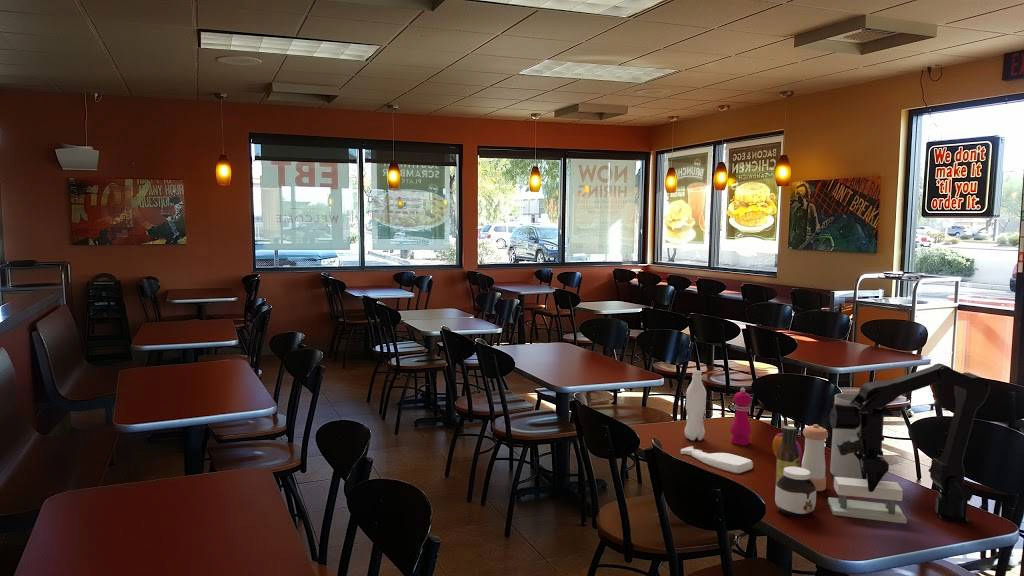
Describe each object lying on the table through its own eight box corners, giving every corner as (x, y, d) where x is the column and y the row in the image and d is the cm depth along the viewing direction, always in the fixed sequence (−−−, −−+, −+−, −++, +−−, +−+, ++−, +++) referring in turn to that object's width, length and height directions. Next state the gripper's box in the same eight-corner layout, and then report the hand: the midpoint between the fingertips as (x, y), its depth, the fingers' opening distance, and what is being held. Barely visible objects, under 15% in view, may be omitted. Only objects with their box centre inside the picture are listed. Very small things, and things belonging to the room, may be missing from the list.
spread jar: (787, 519, 196) (790, 477, 194) (762, 503, 206) (764, 463, 205) (825, 514, 199) (828, 473, 198) (798, 499, 210) (800, 459, 209)
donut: (794, 459, 245) (795, 430, 244) (802, 468, 236) (804, 438, 235) (770, 458, 246) (771, 429, 245) (777, 467, 236) (778, 437, 235)
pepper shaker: (801, 480, 225) (805, 419, 223) (827, 485, 221) (830, 423, 219) (797, 488, 219) (800, 425, 217) (823, 493, 215) (827, 429, 213)
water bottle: (707, 438, 267) (710, 370, 265) (700, 442, 261) (703, 374, 259) (688, 434, 271) (690, 368, 269) (681, 439, 265) (684, 371, 263)
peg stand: (897, 509, 203) (899, 491, 203) (906, 523, 194) (907, 504, 193) (827, 501, 208) (829, 483, 208) (832, 514, 199) (834, 496, 198)
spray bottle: (736, 475, 229) (673, 456, 248) (756, 468, 236) (693, 450, 255) (736, 466, 229) (673, 447, 248) (756, 459, 236) (693, 442, 255)
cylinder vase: (851, 467, 238) (856, 392, 235) (883, 480, 226) (888, 401, 223) (821, 471, 233) (825, 394, 231) (851, 485, 222) (856, 404, 219)
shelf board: (895, 492, 202) (896, 482, 201) (902, 500, 196) (902, 490, 196) (833, 486, 205) (834, 476, 205) (837, 494, 200) (838, 484, 199)
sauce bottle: (799, 499, 210) (803, 431, 208) (776, 497, 211) (780, 430, 209) (795, 491, 216) (799, 425, 214) (773, 489, 217) (776, 423, 215)
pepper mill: (725, 440, 265) (728, 386, 263) (742, 438, 267) (745, 384, 265) (737, 446, 258) (740, 390, 256) (755, 444, 260) (757, 389, 258)
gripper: (834, 418, 210) (831, 471, 212) (844, 436, 192) (840, 494, 194) (876, 422, 207) (873, 475, 209) (891, 441, 189) (887, 499, 191)
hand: (867, 485), depth 200 cm, fingers open, 9 cm apart
